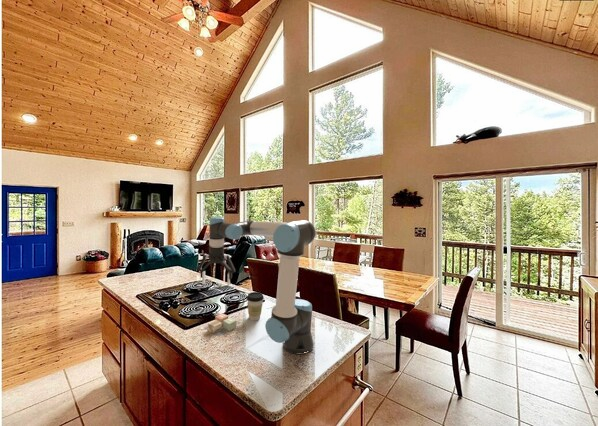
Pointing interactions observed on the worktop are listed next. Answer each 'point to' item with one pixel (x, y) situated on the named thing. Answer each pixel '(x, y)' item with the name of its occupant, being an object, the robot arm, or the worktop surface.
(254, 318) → the coffee cup
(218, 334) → the square tile
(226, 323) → the sage block
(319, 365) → the worktop surface
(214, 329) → the birch block
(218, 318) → the terracotta block
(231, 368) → the worktop surface
